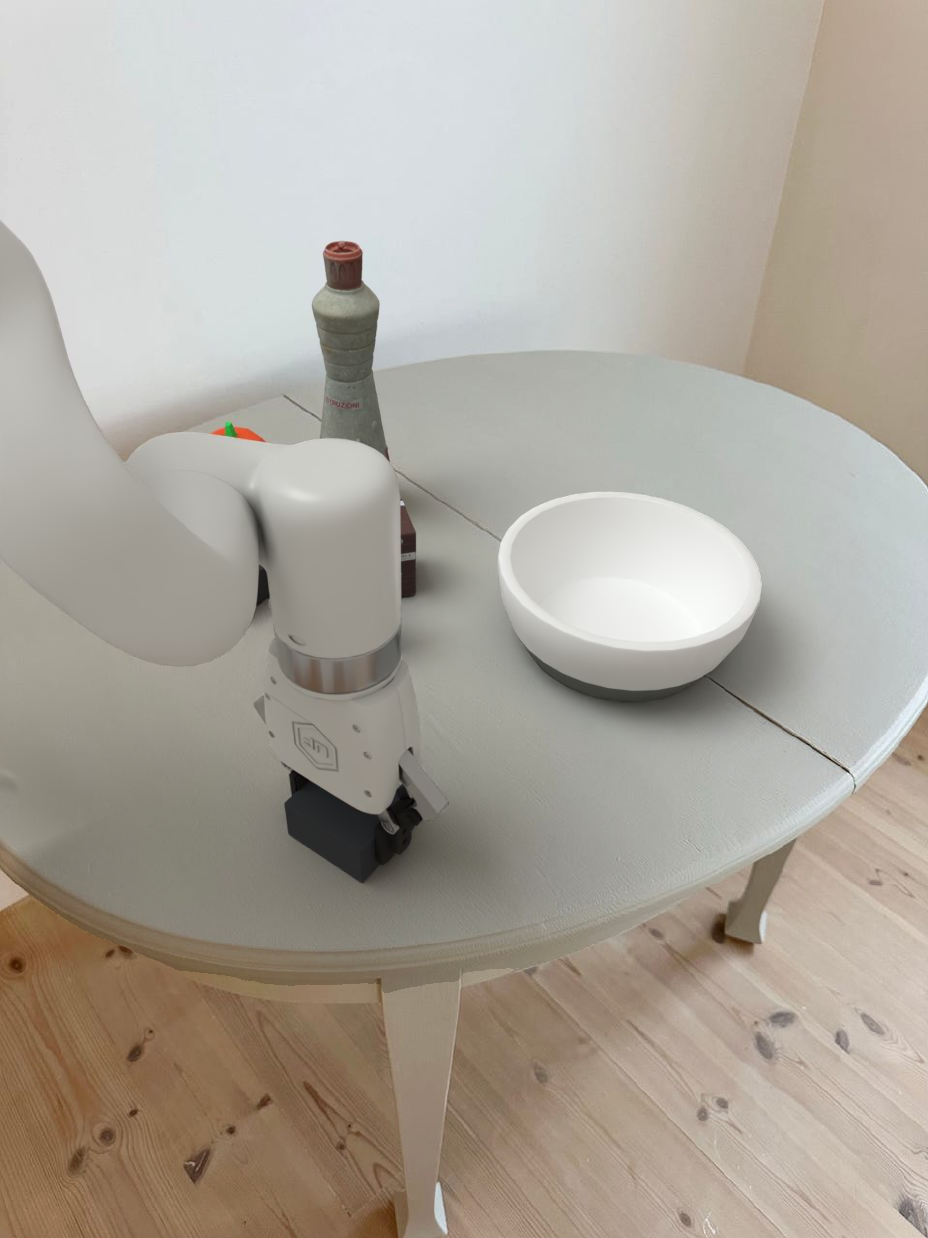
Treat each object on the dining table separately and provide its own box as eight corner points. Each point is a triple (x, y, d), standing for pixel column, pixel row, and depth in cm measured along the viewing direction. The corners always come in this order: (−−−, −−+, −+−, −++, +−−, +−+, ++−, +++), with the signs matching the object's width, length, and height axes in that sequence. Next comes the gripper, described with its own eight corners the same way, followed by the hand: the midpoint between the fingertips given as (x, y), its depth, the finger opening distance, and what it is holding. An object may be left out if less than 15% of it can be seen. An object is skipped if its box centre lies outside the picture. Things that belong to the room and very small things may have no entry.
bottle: (297, 522, 99) (271, 248, 81) (334, 478, 105) (318, 216, 87) (375, 540, 97) (366, 263, 79) (407, 494, 104) (406, 229, 85)
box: (353, 605, 89) (350, 541, 84) (342, 566, 93) (338, 503, 89) (417, 595, 90) (417, 532, 86) (403, 558, 95) (402, 496, 90)
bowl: (660, 543, 98) (675, 473, 93) (792, 689, 83) (819, 615, 77) (456, 586, 92) (459, 514, 86) (557, 754, 76) (568, 678, 70)
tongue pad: (362, 884, 66) (360, 853, 64) (287, 834, 69) (283, 802, 67) (434, 806, 71) (435, 775, 69) (362, 763, 74) (361, 732, 72)
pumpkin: (263, 497, 102) (257, 444, 98) (191, 489, 103) (182, 436, 99) (283, 463, 108) (278, 411, 103) (215, 455, 108) (207, 403, 104)
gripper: (191, 614, 59) (227, 799, 70) (415, 742, 51) (415, 925, 63) (277, 557, 63) (298, 738, 75) (493, 666, 56) (479, 849, 68)
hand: (351, 822), depth 69 cm, fingers closed on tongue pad, 7 cm apart
